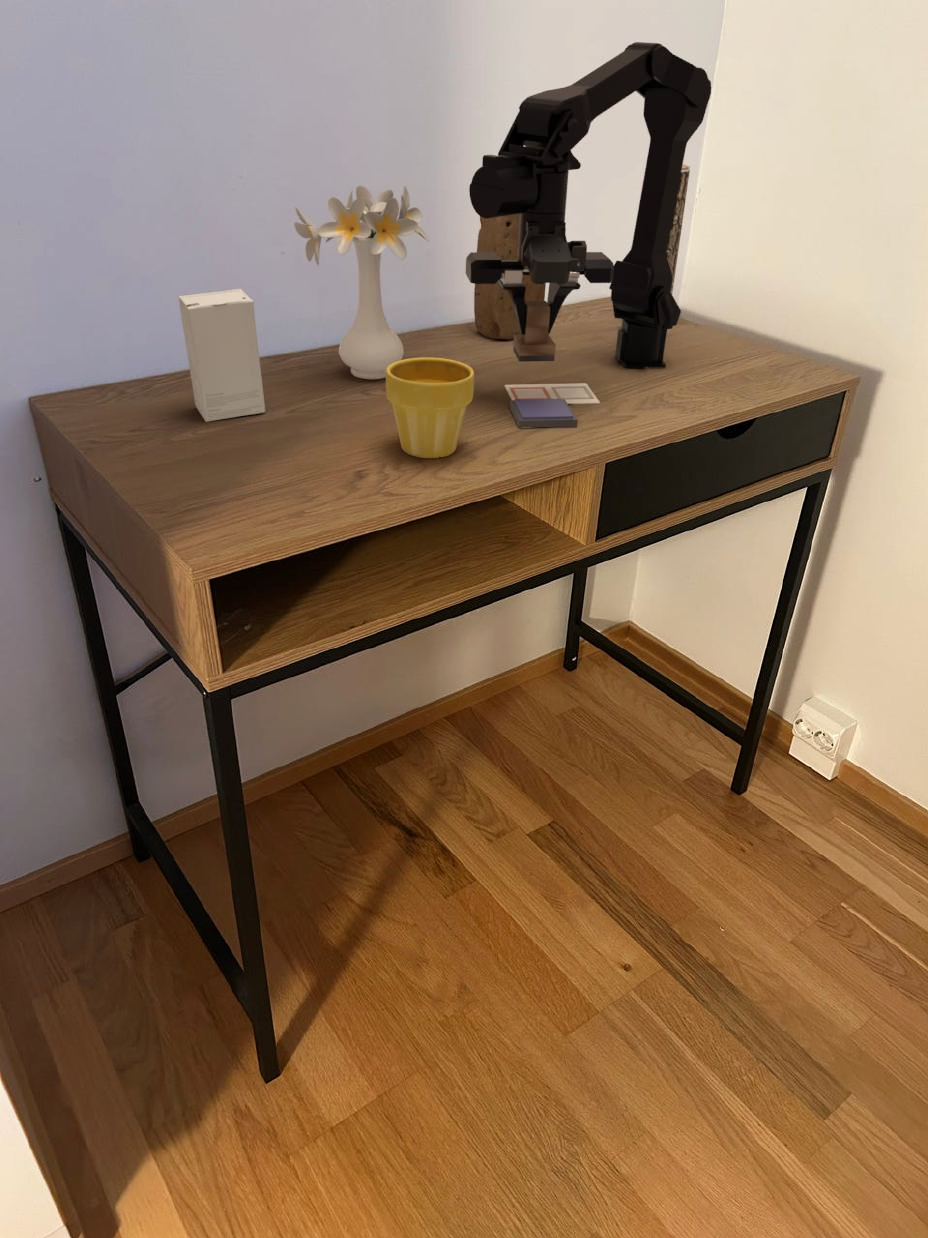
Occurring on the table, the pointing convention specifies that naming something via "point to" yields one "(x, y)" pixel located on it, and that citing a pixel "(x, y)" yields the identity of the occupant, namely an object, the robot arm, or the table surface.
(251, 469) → the table surface
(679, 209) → the bark patterned cylinder
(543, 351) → the stamp
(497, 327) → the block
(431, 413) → the plant pot
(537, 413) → the inkpad
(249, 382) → the skincare box
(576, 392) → the sheet
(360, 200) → the flower vase
